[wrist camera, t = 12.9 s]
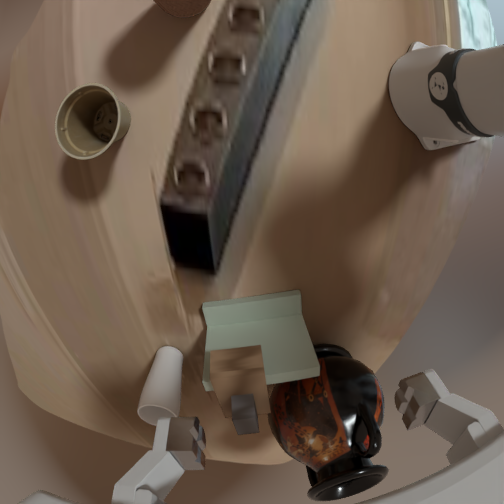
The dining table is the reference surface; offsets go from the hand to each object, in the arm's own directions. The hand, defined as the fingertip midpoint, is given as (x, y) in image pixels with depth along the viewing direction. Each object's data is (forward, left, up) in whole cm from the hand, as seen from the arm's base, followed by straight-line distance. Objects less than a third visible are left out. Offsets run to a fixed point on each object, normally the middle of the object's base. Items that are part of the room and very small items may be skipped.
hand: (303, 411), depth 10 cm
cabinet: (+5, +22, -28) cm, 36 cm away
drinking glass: (+19, +27, -34) cm, 48 cm away
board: (+2, +19, -34) cm, 39 cm away
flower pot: (+18, -15, -34) cm, 42 cm away
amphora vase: (-9, +36, -34) cm, 51 cm away
